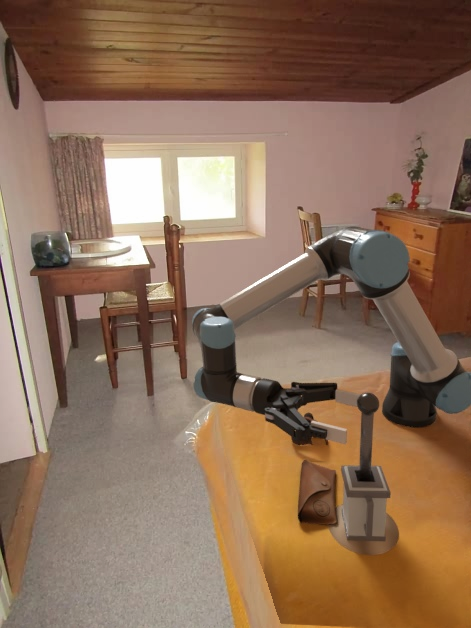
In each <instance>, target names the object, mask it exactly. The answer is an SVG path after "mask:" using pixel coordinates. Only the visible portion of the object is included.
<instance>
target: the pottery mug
mask: <svg viewBox="0 0 471 628" xmlns="http://www.w3.org/2000/svg"><path fill="white" fill-rule="evenodd" d="M303 417H304V418H305V419H306V420H307V421H308V422H309V425H311V422H312V421H316V422H319V421H318V420H316V419H314V415H313V414H312V413H311V412H307V413H305V414H304V415H303ZM312 438H314V439H317V438H316V437H313V436H310V439H309V440H307V441H306V440H304V439H303V438H302V441H297V440H295V439H294V438H293V437H291V436H290V439H291V443H293V444H294V445H297V446H306V445H311V446H313V445H314V444H313V439H312ZM324 442H325V445H327V446H328V444H329V440H327V439H324Z"/></svg>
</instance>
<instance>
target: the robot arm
mask: <svg viewBox="0 0 471 628" xmlns="http://www.w3.org/2000/svg"><path fill="white" fill-rule="evenodd" d="M409 263H410V253H409V250H408V247H407V246H406V244H405V243H404V241H403V240H402V239H401V238H399V237H398V236H396V235H394V234H392V233H390V232H388V231H386V230H381V229H370V228H364V227H360V226H346V227H342V228H340V229H337V230H335V231H333V232H331V233H329V234H327V235H326V236H324V237H322V238H320V239H318V240H317V241H315V242H313V243H312V244H310V245H309V246H306V247H305V251H304V253H303V254H302V255H300V256H298V257H296V258H294V259H293V260H290V261H289V262H288V263H286V264H285V265H282V266H281V267H279V268H277V269H276V270H275V271H272V272H271V273H269V274H267V275H266V276H264V277H262V278H260V279H259V280H258V281H256V282H254V283H252V284H251V285H249V286H247V287H246V288H243V290H241V291H238V292H237V293H236V294H234V295H232V296H231V297H228V298H227V299H225V300H223V301H222V302H220V303H219V304H216V305H215V306H213V307H211V308H210V307H204V308H200V309H198V310H197V311H196V312H195V313H194V314H193V316H192V319H191V325H192V332H193V334H194V336H195V337H196V339H197V342H198V344H199V346H200V350H201V358H202V365H203V366H202V367H200V368H199V369H198V370H197V371H196V373H195V375H194V381H193V384H192V385H193V386H192V387H193V391H194V392H195V395H196V396H197V397H198V398H201V399H204V400H206V401H209V402H211V403H217V404H222V405H226V406H230V407H234V408H237V409H240V410H241V409H242V410H245V411H249V412H254V413H256V414H259V415H262V416H264V419H265V422H267V423H270V424H273V425H274V426H275V427H277V428H279V429H280V430H282V431H283V432H284V433H285V434H287V435H289V437H290V438H291V437H293V438H294V439H295V440H297V441H302V438H303V439H304V440H306V441H307V440H309V439H310V436H313V437H316V438H315V439H321V440H325V439H327V440H328V441H330V442H335V443H337V444H338V443H339V444H341V445H347V443H348V429H347V428H343V427H340V426H336V425H332V424H328V423H324V422H321V421H320V422H319V421H318V422H316V421H317V420H316V421H312V422H311V425H309V422H308V421H307V420H306V419H305V418H304V415H302V413H300V411H298V410H299V409H300V408H301V407H303V406H307V405H308V404H311V403H318V402H319V403H320V402H326V401H333V400H334V402H335V403H337V404H343V405H346V406H351V407H356V408H358V406H357V399H358V397H359V396H360V395H361V394H362V393H357V392H353V391H348V390H342V389H338V383H337V382H297V381H291V382H290V383H291V384H290V385H291V386H290V388H287V387H286V388H284V387H283V386H282V384H281V383H280V382H279V381H278V380H274V379H269V378H262V377H260V376H255V375H250V374H245V373H240V372H238V369H237V352H236V332H235V330H236V329H237V328H239V327H241V326H243V325H245V324H247V323H248V322H249V321H252V320H253V319H255V318H257V317H259V316H260V315H262V314H263V313H265V312H267V311H269V310H270V309H272V308H273V307H276V306H277V305H279V304H280V303H282V302H284V301H286V300H287V299H289V298H291V297H292V296H294V295H295V294H298V293H299V292H300V291H302V290H305V288H307V287H309V286H311V285H312V284H315V283H317V281H319V280H322V281H327V280H329V279H331V278H332V277H334V276H337V275H338V276H339V275H344V276H348V277H349V278H350V279H351V280H352V281H353V282H354V284H355V286H356V288H357V289H358V291H359V292H360V294H361V296H362V297H363V298H365V299H367V300H372V301H373V302H374V304H375V305H376V307H377V309H378V310H379V312H380V314H381V315H382V317H383V319H384V320H385V322H386V323H387V326H388V327H389V328H390V331H391V332H392V333H393V335H394V336H395V339H396V340H397V342H395V343H393V345H392V348H391V354H390V356H391V357H390V375H389V389H388V391H387V393H386V396H385V397H384V400H383V402H382V405H381V407H382V408H381V413H382V415H383V416H384V417H385V419H386V420H388V421H390V422H392V423H394V424H396V425H399V426H402V427H406V428H415V429H416V428H417V429H418V428H425V427H429V426H431V425H433V424H435V422H436V420H437V416H438V415H437V414H438V413H437V411H438V410H440V411H443V412H444V413H446V414H450V415H453V414H454V415H455V414H459V413H462V412H464V411H465V410H467V409H468V408H470V406H471V371H467V370H466V369H465V368H464V367H463V366H462V363H461V361H460V359H459V358H458V357H457V354H455V353H456V352H454V351H452V350H451V349H448V348H445V347H444V345H443V343H442V340H440V338H439V336H438V334H437V333H436V332H437V331H435V329H434V327H433V325H432V324H431V322H430V319H429V318H428V316H427V315H426V313H425V311H424V309H423V307H422V305H421V304H420V302H419V300H418V298H417V297H416V295H415V292H414V291H413V290H412V288H411V286H410V284H409V282H408V280H409V278H410V275H411V273H410V269H409V268H410V267H409V266H408V265H409ZM437 409H438V410H437ZM313 437H312V438H313Z"/></svg>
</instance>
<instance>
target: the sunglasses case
mask: <svg viewBox="0 0 471 628" xmlns="http://www.w3.org/2000/svg"><path fill="white" fill-rule="evenodd" d="M300 467H301V469H300V475H299V476H300V478H299V489H298V502H297V503H298V504H297V518H298V521H299V522H300V523H301V524H307V525H308V524H310V525H318V526H320V525H321V526H328V525H333V524H336V523H337V515H336V509H335V508H336V499H335V498H336V497H335V496H336V495H335V486H336V485H335V484H336V482H335V481H336V473H337V471H336V469H330V468H328V467H325V466H321V465H320V464H316V463H314V462H311V461H309V460H308V459H304V460H303V461H302V463H301V466H300Z"/></svg>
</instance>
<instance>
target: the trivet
mask: <svg viewBox="0 0 471 628" xmlns="http://www.w3.org/2000/svg"><path fill="white" fill-rule="evenodd" d="M335 509H336V515H337V523H336V524H333V525H327V526H328V530H329V533H330V535H331V536H332V538H333V539H334V540H335V541H336V542H337V543H338V544H339V545H340V546H342V547H343V548H345V549H347V550H349V551H351V552H354V553H355V554H358V555H359V554H360V555H363V556H364V555H366V556H376V555H382V554H385V553H388V552H389V551H391V550H392V549H393V548H394V547H395V546H396V545H397V543H398V541H399V538H400V532H399V531H400V530H399V527H398V525H397V523H396V520H394V519H393V517H392V516H391V515H390V514H389V513H387V512H386V520H385V537H386V541H352V540H347V537H346V532H345V527H344V522H343V517H342V509H343V503H342V504H340V505H337V506H335Z"/></svg>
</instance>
